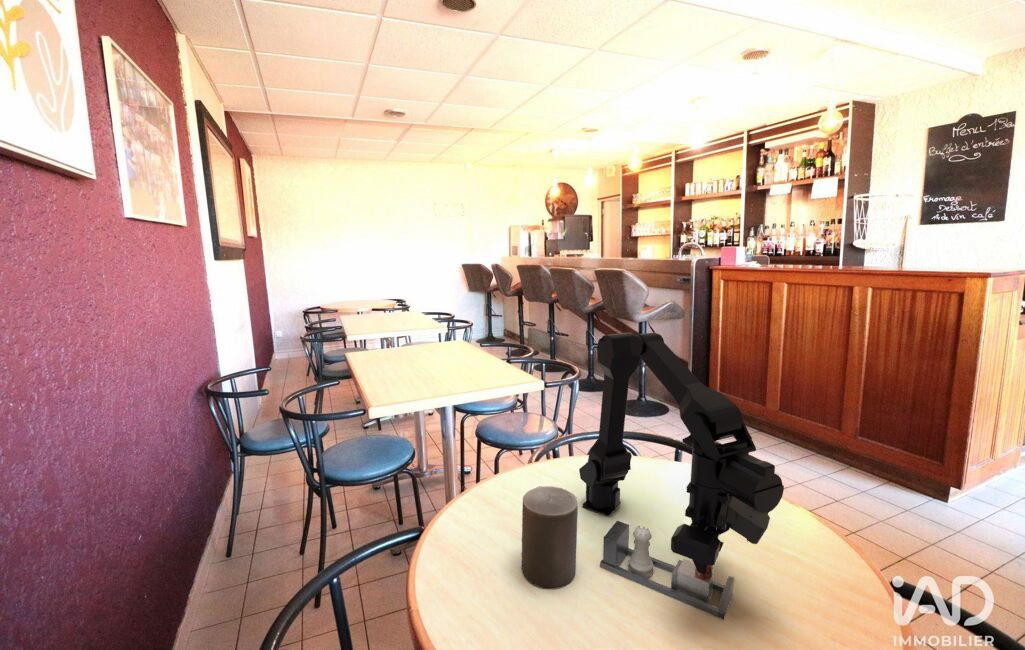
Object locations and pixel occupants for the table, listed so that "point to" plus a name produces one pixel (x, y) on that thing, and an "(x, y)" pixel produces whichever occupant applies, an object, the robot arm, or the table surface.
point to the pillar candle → (549, 536)
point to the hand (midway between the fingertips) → (703, 567)
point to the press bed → (619, 549)
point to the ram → (693, 580)
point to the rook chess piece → (641, 553)
